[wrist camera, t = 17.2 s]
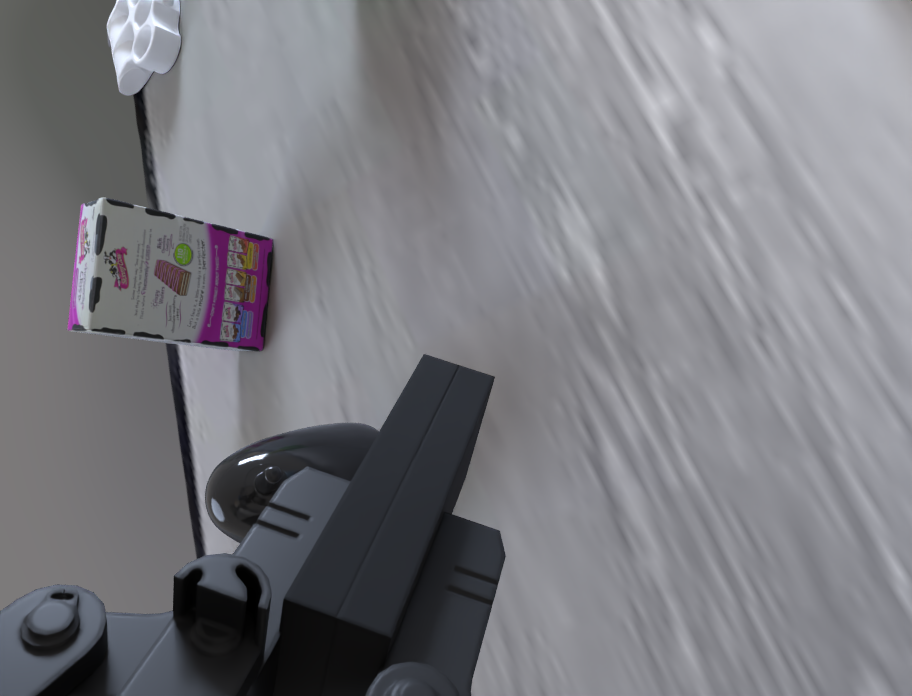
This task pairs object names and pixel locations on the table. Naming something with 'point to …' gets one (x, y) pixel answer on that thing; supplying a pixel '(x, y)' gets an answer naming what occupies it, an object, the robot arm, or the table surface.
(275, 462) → the pump dispenser
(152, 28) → the knuckle duster
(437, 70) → the table surface
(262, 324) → the candy bar box
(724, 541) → the table surface
